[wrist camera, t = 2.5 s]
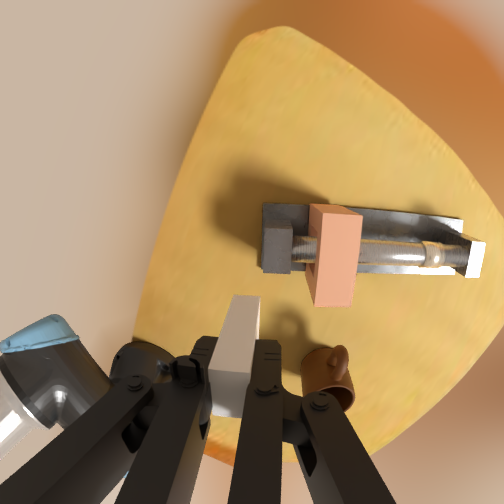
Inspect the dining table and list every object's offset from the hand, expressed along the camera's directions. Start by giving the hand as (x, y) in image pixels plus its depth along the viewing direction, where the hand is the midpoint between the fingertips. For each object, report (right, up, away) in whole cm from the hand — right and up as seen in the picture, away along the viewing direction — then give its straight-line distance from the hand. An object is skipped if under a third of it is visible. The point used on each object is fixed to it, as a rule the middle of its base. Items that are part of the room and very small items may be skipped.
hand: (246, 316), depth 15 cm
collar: (+10, +5, +19) cm, 22 cm away
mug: (+12, -13, +26) cm, 31 cm away
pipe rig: (+18, +5, +20) cm, 27 cm away
